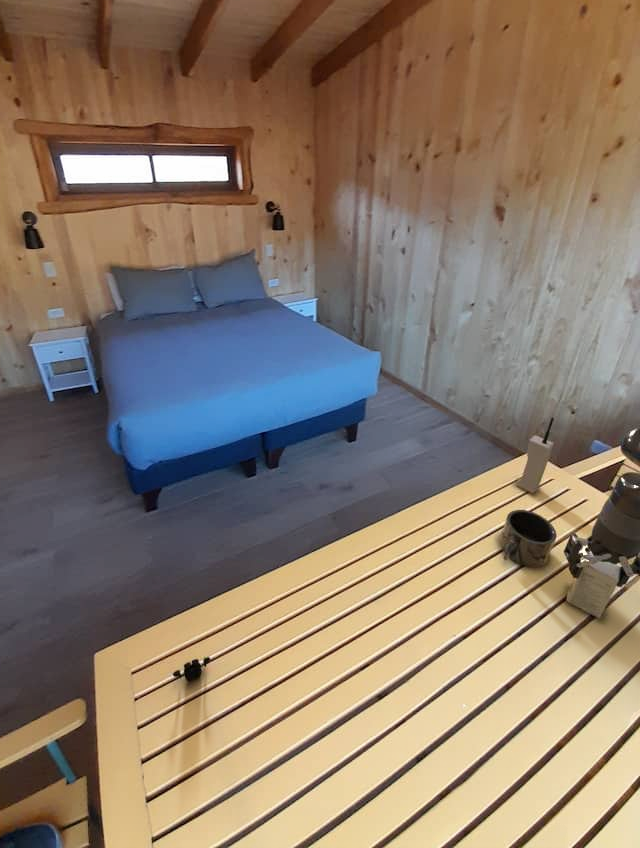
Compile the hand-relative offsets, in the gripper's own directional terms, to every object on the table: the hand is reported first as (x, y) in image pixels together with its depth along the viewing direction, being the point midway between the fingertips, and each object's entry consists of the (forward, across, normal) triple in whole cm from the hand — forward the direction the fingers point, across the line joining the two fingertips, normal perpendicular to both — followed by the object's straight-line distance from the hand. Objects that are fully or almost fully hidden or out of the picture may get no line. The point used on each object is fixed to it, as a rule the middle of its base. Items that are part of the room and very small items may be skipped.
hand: (595, 578), depth 84 cm
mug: (+8, -10, +11) cm, 17 cm away
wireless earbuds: (+8, -77, -34) cm, 85 cm away
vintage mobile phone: (+8, -2, +36) cm, 37 cm away
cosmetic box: (+8, 0, 0) cm, 8 cm away
